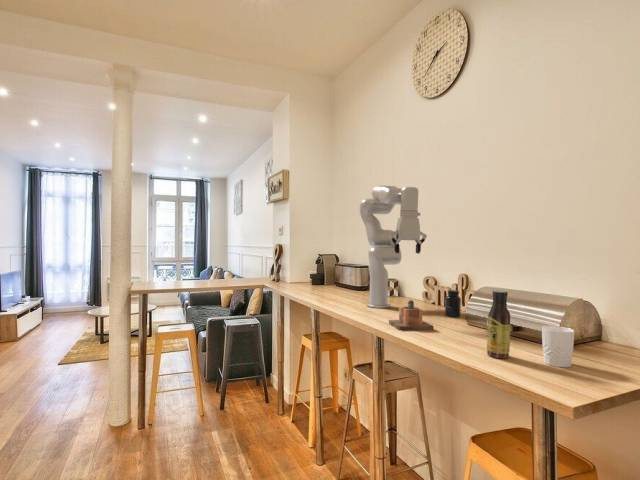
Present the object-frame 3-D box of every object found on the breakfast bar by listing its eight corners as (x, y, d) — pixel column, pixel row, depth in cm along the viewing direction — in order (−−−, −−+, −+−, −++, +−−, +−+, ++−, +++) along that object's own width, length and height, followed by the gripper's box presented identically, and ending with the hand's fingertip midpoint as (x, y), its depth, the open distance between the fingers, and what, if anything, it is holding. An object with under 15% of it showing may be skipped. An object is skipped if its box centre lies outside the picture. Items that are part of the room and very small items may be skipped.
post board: (388, 323, 153) (389, 298, 154) (420, 323, 156) (420, 297, 156) (399, 330, 142) (399, 302, 142) (433, 329, 144) (433, 302, 144)
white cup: (562, 369, 100) (562, 333, 100) (535, 361, 107) (535, 326, 107) (580, 366, 103) (580, 330, 103) (552, 358, 110) (553, 324, 110)
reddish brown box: (398, 321, 152) (399, 306, 152) (415, 320, 153) (415, 306, 153) (405, 325, 145) (405, 309, 145) (422, 324, 146) (422, 309, 146)
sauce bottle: (483, 352, 114) (484, 289, 114) (503, 353, 114) (504, 289, 114) (492, 359, 108) (493, 291, 108) (514, 360, 108) (514, 292, 108)
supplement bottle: (444, 316, 170) (444, 290, 170) (445, 314, 176) (445, 289, 177) (460, 318, 168) (460, 291, 168) (460, 315, 174) (461, 290, 174)
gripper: (423, 215, 169) (422, 252, 170) (387, 214, 167) (386, 252, 167) (430, 215, 162) (429, 254, 162) (393, 214, 159) (391, 253, 160)
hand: (407, 253), depth 165 cm, fingers open, 9 cm apart
